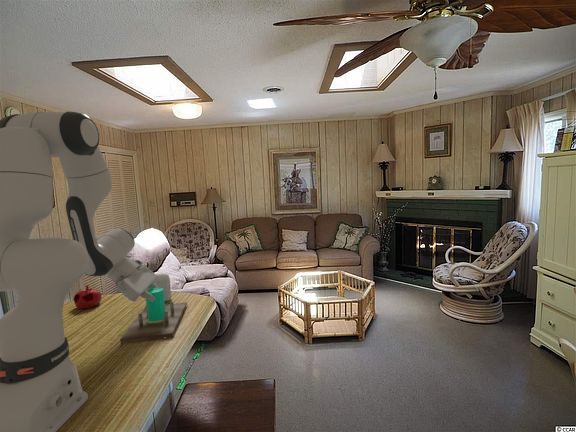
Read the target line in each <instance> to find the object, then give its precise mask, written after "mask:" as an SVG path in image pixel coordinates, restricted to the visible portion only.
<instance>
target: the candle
mask: <svg viewBox="0 0 576 432" xmlns="http://www.w3.org/2000/svg"><path fill="white" fill-rule="evenodd" d="M147 291H148V293H150V294H152V295H154V296H155V297H156V299H155V300H154V301H153V302H151V301H150V300H149V299H145V304H146V303H147V313H148V320H149V321H152V322H154V321H159V320H162V319H164V318H165V315H164V311H165V305H166V301H165V300H164V290H163V288H152V289H149V290H147Z"/></svg>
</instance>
